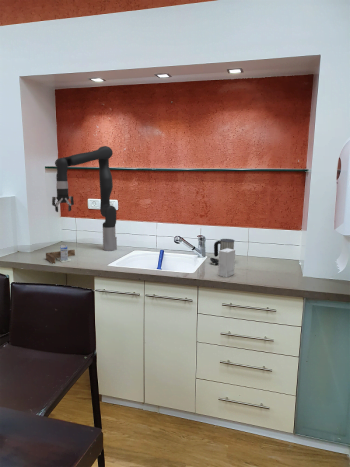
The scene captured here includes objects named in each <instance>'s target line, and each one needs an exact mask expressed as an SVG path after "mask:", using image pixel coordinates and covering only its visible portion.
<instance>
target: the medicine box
mask: <svg viewBox="0 0 350 467" xmlns="http://www.w3.org/2000/svg"><path fill="white" fill-rule="evenodd" d="M59 247H60V248H59V249H60V250H59V251H61V257H60V258H61V261H65V260H68V258H69V256H68V250H69V249H68V245H66V244H65V245H64V244H61V245H60V246H59ZM61 261H60V262H61Z"/></svg>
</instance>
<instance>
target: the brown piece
mask: <svg viewBox="0 0 350 467" xmlns="http://www.w3.org/2000/svg"><path fill="white" fill-rule="evenodd" d="M74 256H76V251H75V249H68V257H74ZM56 258H61V251H60V250H59V251H51V252H45V259H46V260H47V261H49V262H50V263H51V262H52V263H51V264H53V263H54V264H56Z"/></svg>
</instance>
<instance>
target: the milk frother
mask: <svg viewBox="0 0 350 467" xmlns="http://www.w3.org/2000/svg"><path fill="white" fill-rule="evenodd" d="M235 241H236V240H235V239H232V238H220V240H217V241H215V242H214V244H213V251H214V252H213V255H214V257H210V258H209V260H210V262H212V263H213V264H215V265H219V259H217V258H218V257H219V251H220V250H223V249H226V248H229V249H233V250H235V249H234V248H235ZM215 257H217V258H215Z"/></svg>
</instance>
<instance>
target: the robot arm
mask: <svg viewBox="0 0 350 467" xmlns="http://www.w3.org/2000/svg"><path fill="white" fill-rule="evenodd" d="M112 156H113V149H112V148H111V147H110V146H107V145H103V146H100V147H99V148H98V149H96V150H91V151H88V152H87V151H86V152H79V153H76V154H72V155H69V156H63V157H59V158H57V159H56V160H55V162H54V165H55V167H56V177H55V179H56V196H52V197H51V205H52V206H53V207H54V209H55V212H56V213H58V212H59V205H60V204H67V205H68V207H67V208H68V212H71V211H72V206H74V205H75V203H74V202H75V201H74V200H75V199H74V196H72V195H70V196H69V183H68V169H69V167H72V166H73V167H75V166H79V165H82V164H85V163H89V162H93V161H97V162H98V172H99V173H98V174H99V191H100V192H99V193H100V203H99V204H100V207H99V208H100V209H99V210H100V211H99V213H100V215H101V216H102V217H103V218H104V222H102V248H103V251H108V252H109V251H111V252H112V251H115V250H117V249H118V243H117V241H118V240H117V236H116V224H117V209H116V207H115V206H114V205H111V201H110V199H111V195H112V191H113V186H114V184H113V182H114V181H113V175H112V171H111V169H110V163H109V161H110V158H112ZM56 200H57V201H56ZM69 200H70V201H69Z"/></svg>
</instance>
